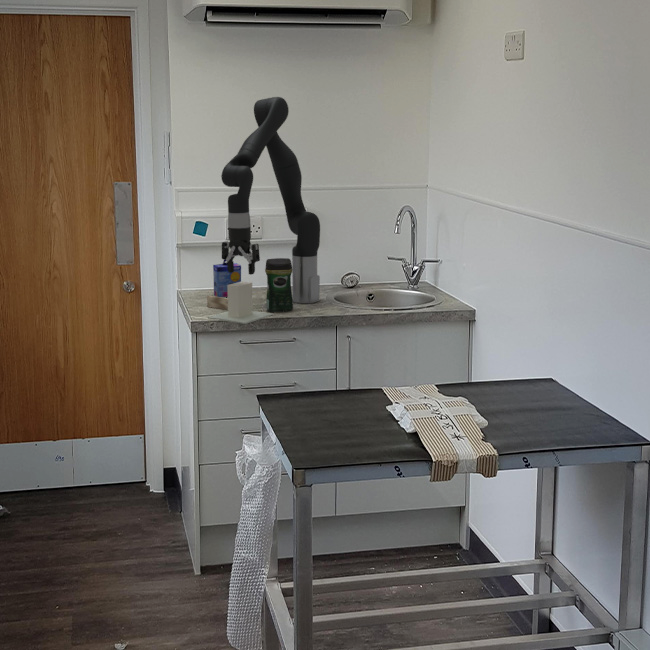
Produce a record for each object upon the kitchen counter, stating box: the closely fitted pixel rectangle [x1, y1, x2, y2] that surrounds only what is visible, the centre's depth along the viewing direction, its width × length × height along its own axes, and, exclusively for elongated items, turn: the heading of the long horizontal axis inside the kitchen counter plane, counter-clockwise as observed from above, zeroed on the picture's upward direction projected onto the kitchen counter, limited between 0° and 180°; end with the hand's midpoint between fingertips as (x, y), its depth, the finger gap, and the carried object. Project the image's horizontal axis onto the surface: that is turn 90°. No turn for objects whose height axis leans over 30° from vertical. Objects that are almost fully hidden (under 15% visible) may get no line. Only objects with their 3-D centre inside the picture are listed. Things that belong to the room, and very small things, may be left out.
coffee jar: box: [264, 257, 294, 313], centre depth 334 cm, size 10×8×19 cm
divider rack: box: [206, 295, 228, 311], centre depth 344 cm, size 10×13×4 cm
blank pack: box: [227, 280, 254, 318], centre depth 324 cm, size 4×8×11 cm, turn 148°
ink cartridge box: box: [212, 259, 242, 298], centre depth 359 cm, size 10×6×14 cm, turn 115°
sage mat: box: [207, 310, 274, 325], centre depth 326 cm, size 16×16×1 cm
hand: (241, 273), depth 322 cm, fingers open, 8 cm apart
